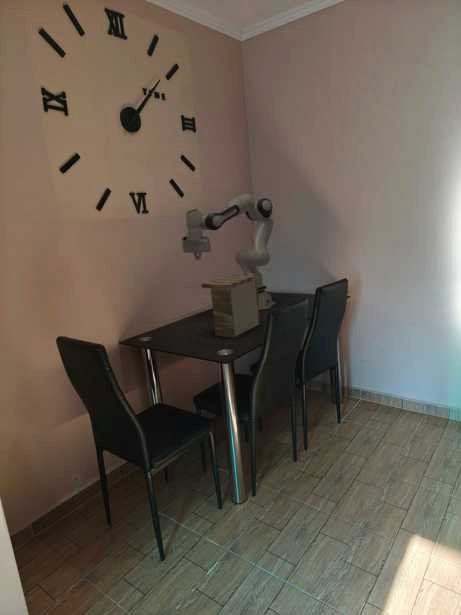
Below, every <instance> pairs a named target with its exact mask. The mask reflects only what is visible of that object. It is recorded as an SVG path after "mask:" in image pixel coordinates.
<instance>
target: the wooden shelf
mask: <svg viewBox="0 0 461 615" xmlns="http://www.w3.org/2000/svg"><path fill="white" fill-rule="evenodd" d="M200 285H201V288H203V289H210V295H211V304H212V312H213V313H212V314H213V323H214V324H213V325H214V331H215V332H214V333H215V336H218V337H220V336H221V337H226V338H235V337H238V336H240V335H242V334H244V333H245V332H247V331H250V330H251V329H254V328H255V327H257V326H259V325H261V318H260V317H261V316H260V310H259V304H258V292H257V281H256V276H245V275H244V274H243V275H241V274H240V275H238V274H237V275H235V274H234V275H232V274H231V275H230V274H229V275H227V276H224V277H220V278H217V279H213V280H210V281H207V282H204V283H203V282H202V283H201V284H200Z"/></svg>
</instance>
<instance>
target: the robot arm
mask: <svg viewBox="0 0 461 615" xmlns="http://www.w3.org/2000/svg"><path fill="white" fill-rule="evenodd" d="M242 214H245V215H246V217H247V219H248V220H250V221H252V222H253V221H256V224H255V227H254V229H253V233H252V235H251V237H250V242H251V243H252V245H253V247H252V248H250V249H247V248H245V249H240V250H238V251H237V252H236V253H235V256H234V257H235V262H236V264H238V266H240V268H241V270H242V272H243V275H245V276H256V281H257V292H258V304H259V311H260V310H267V309H268V310H269V309H271V307H273V306H274V305H276V302H275V301H273V300H272V296H271V295H270V294H269V293H267V291H266V290H265V289H267V288H268V286H267V285H264V280H263V279H264V278H263V274H262V273H261V272H260V271H259V270H258V268H257V267H263V266H266V265H268V264H269V262H270V259H271V256H270V253H269V251H268V248H267V247H268V246H267V245H268V243H269V240H270V237H271V234H272V230H273V229H274V228H273V227H274V220H273V219H272V214H273V203H272V201H271V200H270V199H268V198H261V199H258V200H257V201H256V200H255V199H254V197H253V196H252V195H251V194H249V193H245V194H241V195H238V196H236V197H234V198H232V199H230V200H229V201H228V202H227V204H226V206H225V209H224V210H222V211H220V212H212V213H205V212H203V211H200V210H199V209H196V208H195V209H191V210H189V211H187V212H186V214H185V215H186V216H185V218H186V219H185V220H186V227H187V234H186V235H185V236H182V238H181V241H182V251H183V253H185V254H186V253H187V254H189V253H192V254H193V256H194V257H195V258H194V259H195V260H198V261H200V260H201V259H202V258H201V256H202V254H203V253H208V252H209V253H210V252H211V251H212V245H211V242H210V238H209V237H208V236H207V235H206V236H204V235H203V231H217V230H220V229H221V228H222V226H223V225H224V224H225V223H226V222H228V221H229V220H231V219H232V218H233V219H234V217H238V216H241V215H242Z"/></svg>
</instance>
